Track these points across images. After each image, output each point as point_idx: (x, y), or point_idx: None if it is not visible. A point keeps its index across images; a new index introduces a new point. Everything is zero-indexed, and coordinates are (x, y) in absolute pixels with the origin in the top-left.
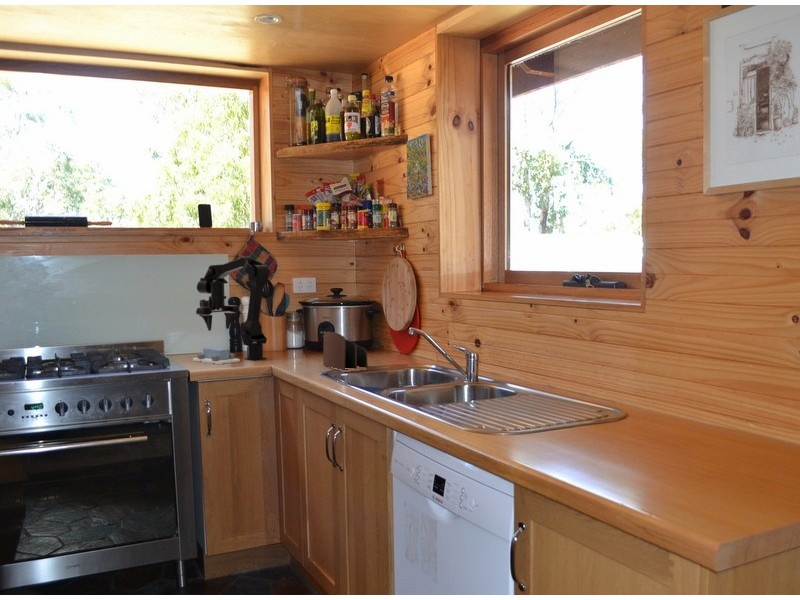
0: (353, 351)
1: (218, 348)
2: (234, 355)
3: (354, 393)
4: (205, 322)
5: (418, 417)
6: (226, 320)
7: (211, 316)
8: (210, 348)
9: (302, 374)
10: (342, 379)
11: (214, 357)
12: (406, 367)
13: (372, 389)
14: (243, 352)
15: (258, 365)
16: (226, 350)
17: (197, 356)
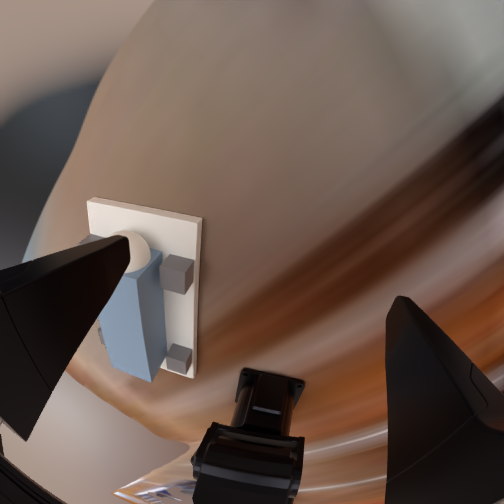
0: None
1: (134, 336)
2: (187, 369)
3: (146, 484)
4: (22, 267)
5: (132, 490)
6: (433, 387)
7: (25, 422)
8: (108, 303)
9: (174, 469)
10: (184, 487)
11: (102, 340)
12: None
13: (167, 492)
14: (448, 238)
15: (183, 423)
16: (140, 375)
17: (85, 238)
